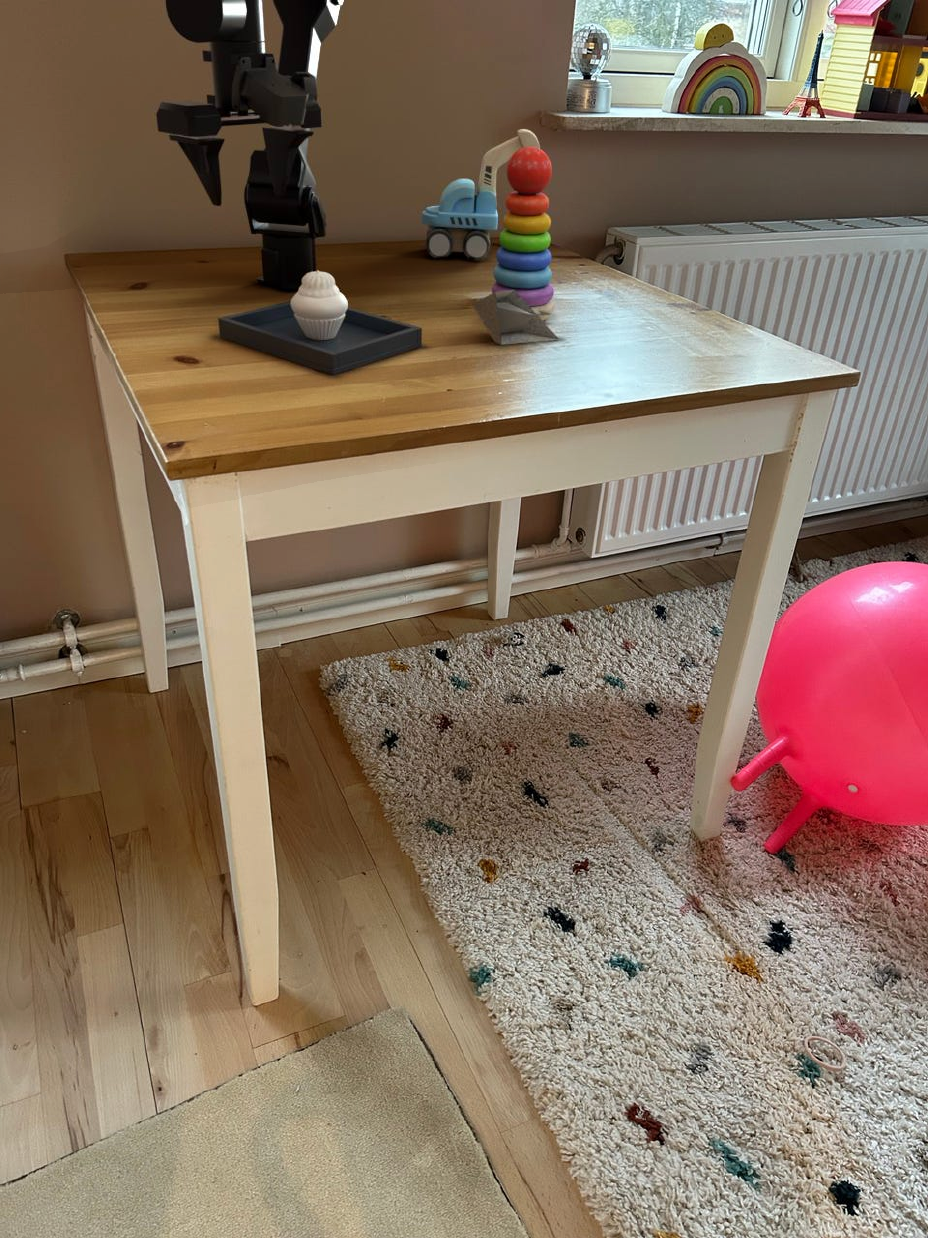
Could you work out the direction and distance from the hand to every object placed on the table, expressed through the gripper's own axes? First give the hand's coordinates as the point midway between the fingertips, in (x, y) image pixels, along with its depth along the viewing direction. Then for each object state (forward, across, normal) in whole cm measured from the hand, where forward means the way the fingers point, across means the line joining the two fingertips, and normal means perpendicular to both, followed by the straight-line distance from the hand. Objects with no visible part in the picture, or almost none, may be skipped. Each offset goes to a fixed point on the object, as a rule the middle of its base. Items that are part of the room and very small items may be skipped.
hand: (249, 200), depth 108 cm
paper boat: (+12, +11, -30) cm, 34 cm away
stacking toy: (+12, +21, -24) cm, 34 cm away
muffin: (+12, -4, -15) cm, 19 cm away
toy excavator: (+12, +43, 0) cm, 45 cm away
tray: (+12, -4, -15) cm, 20 cm away
